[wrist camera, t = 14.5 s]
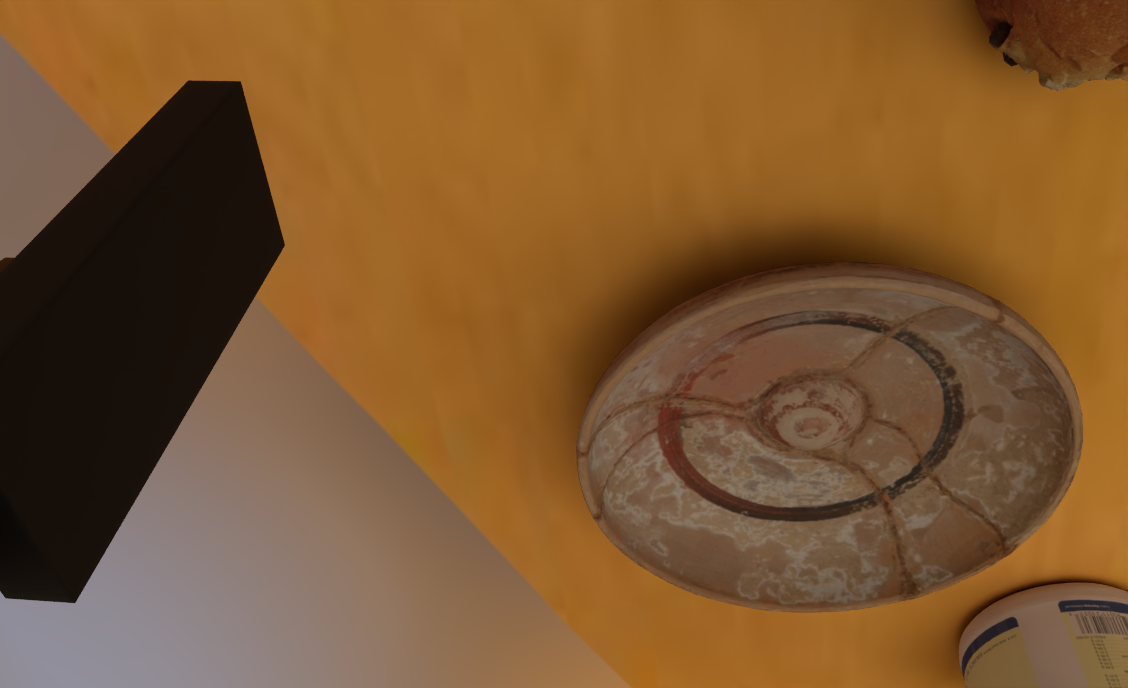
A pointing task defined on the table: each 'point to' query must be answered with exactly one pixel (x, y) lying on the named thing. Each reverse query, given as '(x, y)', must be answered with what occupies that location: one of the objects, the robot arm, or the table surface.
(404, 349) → the table surface
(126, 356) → the robot arm
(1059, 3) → the bread roll
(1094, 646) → the supplement tub
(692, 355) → the ceramic bowl
